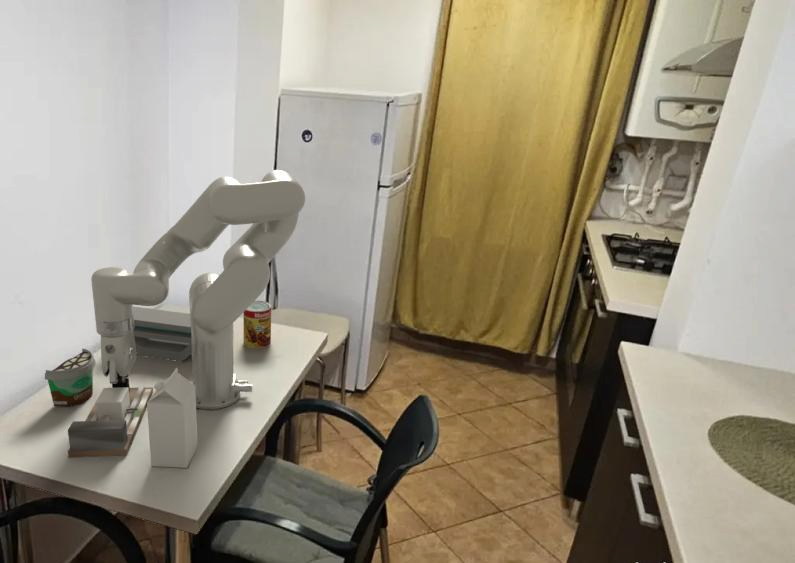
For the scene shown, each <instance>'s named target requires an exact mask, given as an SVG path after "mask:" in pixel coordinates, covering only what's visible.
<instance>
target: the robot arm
mask: <svg viewBox="0 0 795 563" xmlns="http://www.w3.org/2000/svg"><path fill="white" fill-rule="evenodd" d="M305 203H306V194H305V191H304V189H303V187H302V185H301V184H300V183H299V182H298V181H297V180H296V179H295V178H294V177H293V176H292V175H291V174H290V173H288V172H287V171H285V170H281V169H275V170H271V171H269V172H268V173H266V174H265V176H263V178H262V179H261V182H254V183H253V182H252V183H241V182H240V181H239V180H237V179H235V178H233V177H230V176H221V177H218V178H216V179H215V180H214V181H212V182H211V183H210V184H209V185H208V186H207V188H205V189H204V191H203V192H202V193H201V194H200V195H199V197H198V198H197V199H196V200H195V201H194V202H193V204H192V205H191V206H190V207H189V209H188V210H187V211H186V212H185V213H184V214H183V215H182V216H181V217H180V219H179V220H177V222H176V223H175V224H174V225H173V226H171V227H170V228H169V230H167V231H166V232H165V233H164V234H163V235H162V236H161V237H160V238H159V239H158V240H157V241H156V242H155V243H154V244H153V246H151V248H150V249H148V251H147V252H146V253H145V254H144V255H143V257H141V259H140V260H139V261H138V263H137V264H136V266H135V267H134V269H133V272H132V274H130V273H129V271H128V270H127V269H125V268H122V267H117V266H114V267H113V266H112V267H104V268H100V269H96V270H95V271H94V272H93V273H92V275H91V290H92V300H93V308H94V320H95V330H96V333H97V335H100V356H101V368H102V369H101V370H102V374H103V376H104V377H108V376H109V384H111V387H112V388H125V387H129V393H130V388H131V387H130V378H129V375H130V372H131V370H132V368H133V366H134V365H135V362H136V361H137V357H138V356H137V355H138V353H137V352H136V346H135V338H134V332H133V330H134V316H133V307H134V305H135V306H140V307H141V306H143V307H154V306H157V305H158V306H159V305H160V304H162V303H163V302H165V301H166V299H167V298H168V296H169V290H170V289H169V288H170V283H169V282H170V278H171V276H173V274H175V272H176V271H177V269H179V267H180V266H181V265H182V264H183V263H184V262H185V261H186V260H187V259H188V258H189V257H191V256H192V255H194V254H197V253H201V252H204V251H207V250H208V249H209V248H210V247H211V246H213V244H214V242H216V240H218V238H219V237H220V236H221V234H223V232H224V231H225V230H226V229H227V228H228V227H229V225H232V226H240V225H248V224H249V225H250V224H251V226H249V227H248V229H247V230H246V231H245V232H244V233H243V234H242V235H241V236H240V237H239V238H238V239H237V240H236V241H235V242H234V243H233V244H232V245H231V246H230V247H229V248H228V249H227V250H226V251H225V253H224V255H223V257H222V258H223V259H222V265H223V271H222V272H221V273H220V274H219V273H217V272H205V273H202V274H201V275H199V276H197V277H196V278H195V279H194V280H193V282H192V283H191V284H190V287H189V291H188V302H189V303H188V305H189V314H190V321H191V349H192V354H191V365H192V368H191V371H192V372H191V373H192V374H191V375H192V384H193V385H195V394H196V409H200V410H218V409H222V408H226V407H228V406H231V405H233V404H235V403H236V402H237V401H238V399H239V398H240V396H241V393H243V392H245V393H246V392H247V393H250V392H251V393H252V392H253V383H249V379H242V380H241V379H238V378H237V375H236V373H234V322H236V321H237V320H238V319H239V318H240V317H241V316H242V315H243V314H244V311H245V310H246V309H247V308H248V307H249V306H250V305H251V304H252V303H253V302H254V301H257V299H258V298H259V297H260V295H261V294H263V292H264V291H265V289H266V287H267V286H268V284H269V281H270V279H271V267H270V264H269V263H270V262H271V261H272V260H273V259H274V258H275V257H276V255H278V254H279V252H280V251H281V250H282V248H283V247H284V246H285V245H286V244H287V243H288V241H289V239H291V237H292V236H293V234H294V232H295V229H296V227H297V223H298V219H299V213H300V212H301V211H302V210H303V208H304V206H305Z"/></svg>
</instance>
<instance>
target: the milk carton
mask: <svg viewBox="0 0 795 563" xmlns="http://www.w3.org/2000/svg"><path fill="white" fill-rule="evenodd" d="M153 389H155V391H153V394H152V396H151V398H150V399H149V401H148V402H147V409H146V411H147V424H148V437H149V439H148V440H149V450H150V451H149V452H150V463H151V464H150V465H151V467H161V468H162V467H163V468H164V467H165V468H166V467H167V468H178V469H179V468H180V469H181V468H183V469H187V468H188V466H190V462H191V461H192V459H193V457H194V455H195V452H196V451H197V448H198V427H197V408H196V394H195V385H193V382H191V381H189V380H188V379H187V378H186V377H184V376H183V375H182V374H180V373H179V370H178V367H176V368H175V369H174V371H173V372H172V373H171V375H170V376H169V377H168V378H167V379H165V380H164V379H160V380H158V381H157V382H156V383H155V384H154V385H153Z"/></svg>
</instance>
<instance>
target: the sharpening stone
mask: <svg viewBox="0 0 795 563" xmlns="http://www.w3.org/2000/svg"><path fill="white" fill-rule="evenodd" d="M133 316H134V330H133V332H134V338H135V346H136V354H137V355H139V356H140V357H142V356H148V357H147V358H149V357H154V358H153V359H157V358H161V359H160V360H164V359H169V360H168V361H171V360H176V361H175V362H179V361H181V362H183V361H184V360H186V359H187V358H188V357H189V356H192V349H191V321H190V313H188V312H187V313H186V312H178V311H172V310H170V311H169V310H164V309H163V310H162V309H155V308H147V307H141V306H140V307H139V306H133Z"/></svg>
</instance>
